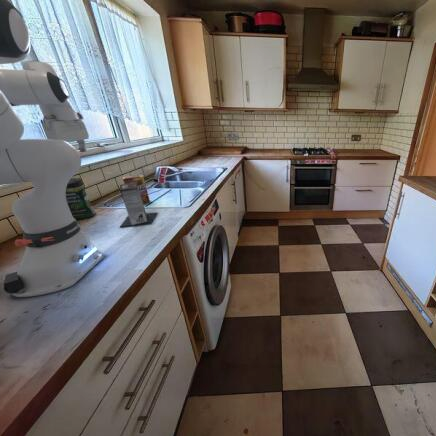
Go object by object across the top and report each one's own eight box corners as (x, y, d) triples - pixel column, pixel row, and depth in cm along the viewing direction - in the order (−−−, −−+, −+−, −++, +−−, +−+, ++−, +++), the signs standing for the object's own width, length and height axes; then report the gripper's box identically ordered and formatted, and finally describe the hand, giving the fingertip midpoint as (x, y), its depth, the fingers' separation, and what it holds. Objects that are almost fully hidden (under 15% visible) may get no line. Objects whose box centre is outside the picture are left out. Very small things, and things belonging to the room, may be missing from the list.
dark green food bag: (66, 221, 103) (47, 182, 95) (74, 214, 110) (57, 177, 102) (92, 218, 106) (75, 179, 98) (98, 211, 113) (83, 175, 105)
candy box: (131, 207, 119) (122, 178, 112) (131, 204, 122) (122, 176, 115) (150, 203, 123) (142, 176, 116) (150, 201, 126) (142, 174, 120)
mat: (151, 223, 101) (151, 222, 101) (120, 227, 98) (119, 226, 98) (157, 213, 111) (157, 212, 111) (129, 216, 108) (129, 215, 108)
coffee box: (131, 217, 105) (119, 184, 98) (147, 214, 109) (137, 182, 102) (131, 225, 99) (119, 190, 92) (148, 221, 102) (137, 187, 95)
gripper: (52, 115, 75) (72, 157, 81) (84, 114, 93) (98, 149, 99) (29, 116, 74) (50, 159, 80) (66, 115, 91) (81, 150, 97)
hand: (77, 153), depth 89 cm, fingers open, 8 cm apart
